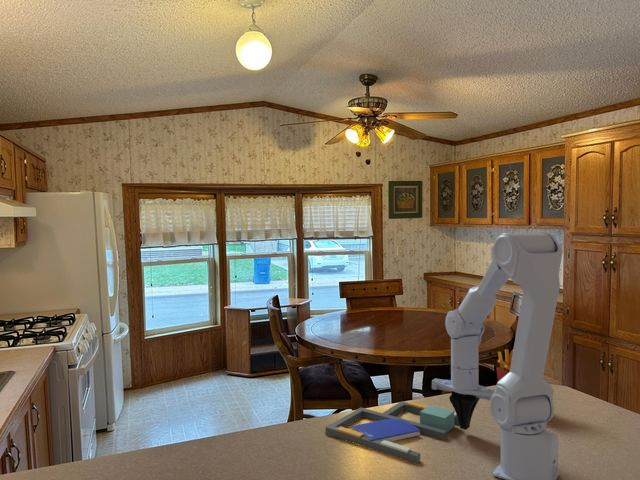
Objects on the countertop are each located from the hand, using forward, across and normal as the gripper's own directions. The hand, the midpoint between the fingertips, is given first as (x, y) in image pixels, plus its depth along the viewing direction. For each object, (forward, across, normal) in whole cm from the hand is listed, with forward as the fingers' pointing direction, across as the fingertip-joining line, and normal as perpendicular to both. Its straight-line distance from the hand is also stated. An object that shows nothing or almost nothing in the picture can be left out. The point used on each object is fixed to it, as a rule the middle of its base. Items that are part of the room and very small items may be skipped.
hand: (464, 427), depth 104 cm
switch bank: (+1, +10, 0) cm, 10 cm away
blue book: (+2, +14, +11) cm, 17 cm away
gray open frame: (+1, +13, +11) cm, 17 cm away
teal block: (+1, +6, 0) cm, 7 cm away
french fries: (+2, -5, -22) cm, 23 cm away
